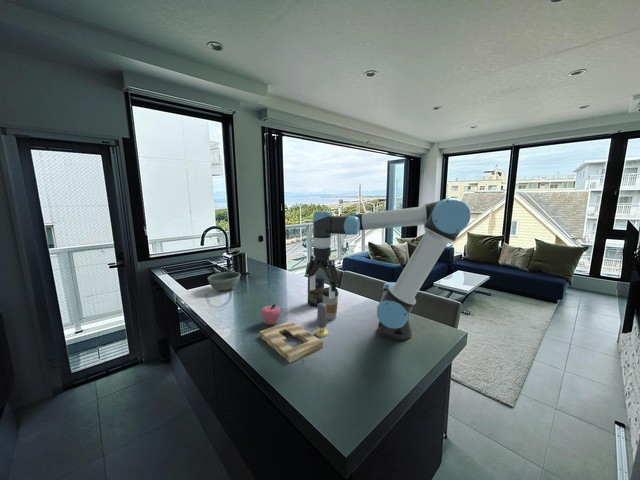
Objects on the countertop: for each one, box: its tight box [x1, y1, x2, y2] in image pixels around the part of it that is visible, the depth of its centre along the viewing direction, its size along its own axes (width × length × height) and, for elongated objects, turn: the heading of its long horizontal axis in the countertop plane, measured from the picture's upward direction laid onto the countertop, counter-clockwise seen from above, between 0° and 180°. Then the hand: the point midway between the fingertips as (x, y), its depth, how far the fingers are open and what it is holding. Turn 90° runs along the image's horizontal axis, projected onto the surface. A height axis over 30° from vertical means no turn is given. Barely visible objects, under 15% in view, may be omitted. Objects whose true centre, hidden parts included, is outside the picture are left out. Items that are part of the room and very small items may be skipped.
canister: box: [307, 273, 325, 307], centre depth 151 cm, size 10×10×18 cm
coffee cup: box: [322, 286, 339, 321], centre depth 134 cm, size 8×8×15 cm
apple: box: [260, 303, 281, 326], centre depth 127 cm, size 10×9×10 cm
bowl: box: [207, 271, 241, 293], centre depth 175 cm, size 21×21×10 cm
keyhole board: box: [259, 320, 324, 363], centre depth 111 cm, size 24×16×3 cm, turn 40°
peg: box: [314, 303, 329, 338], centre depth 118 cm, size 6×6×14 cm
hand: (321, 293), depth 116 cm, fingers open, 13 cm apart
